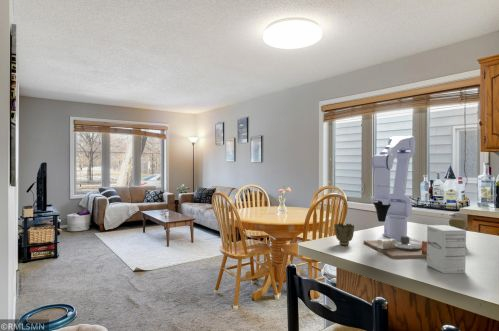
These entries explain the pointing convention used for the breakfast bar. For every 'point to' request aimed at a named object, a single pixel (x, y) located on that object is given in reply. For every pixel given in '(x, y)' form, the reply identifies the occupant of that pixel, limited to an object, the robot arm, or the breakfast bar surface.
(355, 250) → the breakfast bar surface
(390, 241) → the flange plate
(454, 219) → the cork
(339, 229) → the cup
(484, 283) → the breakfast bar surface
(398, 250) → the board
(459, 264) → the supplement box
